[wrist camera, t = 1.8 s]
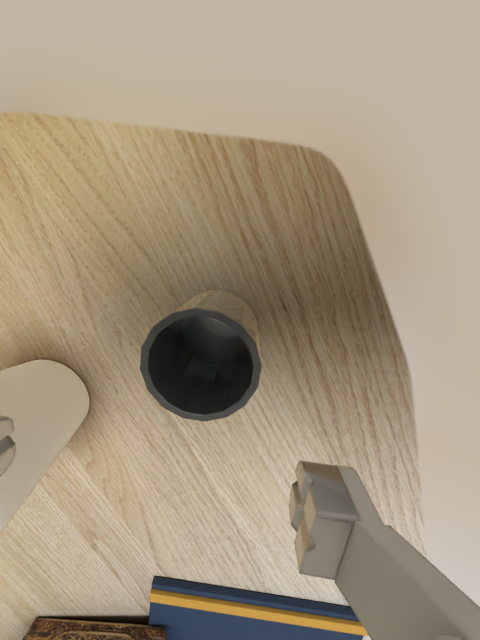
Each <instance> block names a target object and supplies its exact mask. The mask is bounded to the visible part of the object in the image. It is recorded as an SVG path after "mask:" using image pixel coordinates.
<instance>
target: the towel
mask: <svg viewBox="0 0 480 640" xmlns="http://www.w3.org/2000/svg"><path fill="white" fill-rule="evenodd" d="M149 602H150V612H149V623H148V626H154V627H161V628H163V629H164V630H165V633H166V640H362V638H363V636H368V633H367V632H366V630H365V629H364V627H363V625H362V624H361V622H360V621H359V619H358V618H357V616H356V615H355V613H354V611H353V610H352V608H351V607H346V606H340V605H334V604H327V603H321V602H315V601H308V600H302V599H296V598H289V597H283V596H277V595H270V594H264V593H258V592H251V591H245V590H239V589H232V588H226V587H220V586H213V585H207V584H201V583H194V582H188V581H182V580H175V579H169V578H162V577H156V576H155V577H154V579H153V583H152V589H151V592H150V601H149Z"/></svg>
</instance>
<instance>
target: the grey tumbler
mask: <svg viewBox="0 0 480 640" xmlns="http://www.w3.org/2000/svg"><path fill="white" fill-rule="evenodd" d="M261 367H262V366H261V355H260V345H259V335H258V327H257V323H256V318H255V315H254V313H253V311H252V309H251V308H250V306H249V305H248V304H247V303H246V302H245V301H244V300H243V299H242V298H241V297H239V296H238V295H236V294H234V293H231V292H229V291H225V290H208V291H204V292H201V293H198V294H196V295H195V296H194V297H192V298H191V299H190V300H188V301H187V302H186V303H184V304H183V305H181V306H180V307H179V308H177V309H176V310H175V311H173V312H172V313H170V314H169V315H168V316H167V317H165V318H164V319H163V320H161V321H160V322H159V323H157V324H156V325H155V326H153V328H152V329H151V330H150V332H149V334H148V336H147V338H146V340H145V342H144V343H143V345H142V348H141V365H140V369H141V373H142V376H143V378H144V381H145V384H146V387H147V389H148V391H149V392H150V393H151V394H152V396H153V397H154V398H155V399H156V400H157V401H158V402H159V403H160V405H161V406H162V407H163V408H165V409H167V410H169V411H171V412H173V413H175V414H176V415H178V416H180V417H182V418H187V419H193V420H199V421H210V420H215V419H220V418H225V417H228V416H229V415H231V414H233V413H234V412H236V411H237V410H239V409H241V408H242V407H244V406H245V405H246V404H247V402H248V401H249V399H250V398H251V397H252V395H253V394H254V392H255V391H256V389H257V387H258V383H259V378H260V373H261Z"/></svg>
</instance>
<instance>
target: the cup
mask: <svg viewBox="0 0 480 640" xmlns="http://www.w3.org/2000/svg"><path fill="white" fill-rule="evenodd" d="M89 404H90V403H89V395H88V391H87V389H86V387H85V385H84V383H83V382H82V380H81V379H80V378H79V376H78V375H77V374H76V373H75V372H73V371H72V370H71V369H69V368H68V367H66V366H65V365H63V364H60V363H58V362H55V361H51V360H34V361H30V362H27V363H23V364H20V365H17V366H14V367H10V368H7V369H4V370H1V371H0V416H6V417H9V418H11V419H13V423H14V431H13V432H12V434H11V435H10V437H11V438H12V440H13V441H14V442H15V445H16V452H15V456H14V460H13V462H12V463H11V465H10V466H9V468H8V469H7V471H6V472H5V473H4V474H3V475H2V476H1V477H0V534H1V533H2V531H3V530H4V529H5V527H6V526H7V525H8V523H9V522H10V521H11V519H12V518H13V516H14V515H15V514H16V512H17V511H18V510H19V508H20V507H21V506H22V504H23V503H24V501H25V500H26V499H27V497H28V496H29V495H30V493H31V492H32V490H33V489H34V488H35V486H36V485H37V484H38V482H39V481H40V479H41V478H42V477H43V475H44V474H45V473H46V471H47V470H48V469H49V467H50V466H51V464H52V463H53V462H54V460H55V459H56V458H57V456H58V455H59V453H60V452H61V451H62V449H63V448H64V447H65V445H66V444H67V442H68V441H69V440H70V438H71V437H72V436H73V434H74V433H75V431H76V430H77V429H78V427H79V426H80V425H81V423H82V422H83V420H84V419H85V417H86V416H87V414H88V411H89Z"/></svg>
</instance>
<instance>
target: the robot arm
mask: <svg viewBox="0 0 480 640" xmlns="http://www.w3.org/2000/svg"><path fill="white" fill-rule="evenodd" d="M13 431H14V423H13V419H11V418H9V417H6V416H0V477H1V476H2V475H3V474H4V473H5V472H6V471H7V469H8V468H9V466H10V465H11V463H12V462H13V460H14V456H15V452H16V445H15V442H14V441H13V440H12V438H11V437H10V435H11V434H12V432H13ZM295 473H296V477H297V481H296V482H295V483H294V484H292V488H291V493H290V503H289V508H290V519H291V525H292V526H293V528H294V529H295V530H296V532H297V535H296V539H295V543H294V544H295V549H296V555H297V561H298V567H299V573H300V574H304V575H310V576H315V577H321V578H326V579H332V580H335V583H336V585H337V586H338V588H339V590H340V591H341V593H342V594H343V596H344V597H345V599H346V600H347V602H348V604H349V605H350V607H351V608H352V610H353V611H354V613H355V615H356V616H357V618H358V619H359V621H360V622H361V624H362V625H363V627H364V629H365V630H366V632H367V633H368V635H369V636H370V638H371V639H372V640H480V607H479V606H478V605H477V604H475V603H474V602H473V601H472V600H471V599H470V598H469V597H468V596H467V595H466V594H464V593H463V592H462V591H461V590H460V589H459V588H458V587H457V586H455V584H453V583H452V582H451V581H450V580H449V579H448V578H447V577H446V576H445V575H444V574H442V573H441V572H440V571H439V570H438V569H437V568H436V567H435V566H434V565H433V564H431V563H430V562H429V561H428V560H427V559H426V558H425V557H424V556H423V555H422V554H421V553H419V552H418V551H417V550H416V549H415V548H414V547H413V546H412V545H411V544H410V543H409V542H407V541H406V540H405V539H404V538H403V537H402V536H401V535H400V534H399V533H398V532H396V531H395V530H394V529H393V528H392V527H391V526H388V525H384V524H383V522H382V520H381V518H380V516H379V514H378V512H377V510H376V508H375V506H374V504H373V502H372V500H371V499H370V497H369V495H368V493H367V491H366V489H365V487H364V485H363V483H362V481H361V479H360V477H359V475H358V473H357V472H356V470H355V469H354V468H353V467H346V466H338V465H328V464H321V463H314V462H307V461H300V460H299V462H298V464H297V467H296V471H295Z"/></svg>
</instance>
